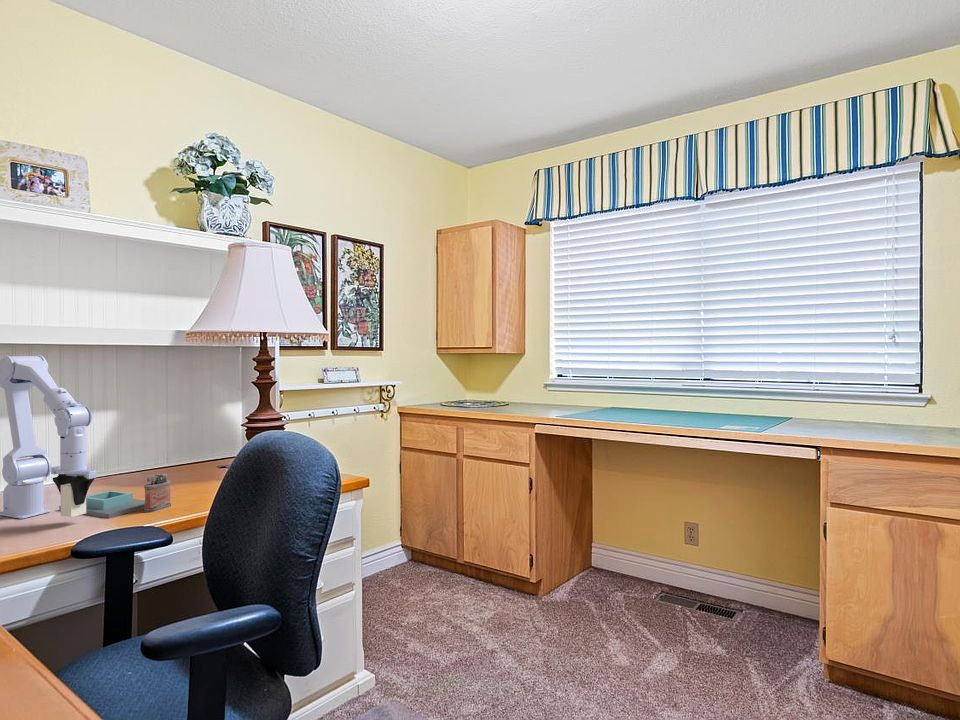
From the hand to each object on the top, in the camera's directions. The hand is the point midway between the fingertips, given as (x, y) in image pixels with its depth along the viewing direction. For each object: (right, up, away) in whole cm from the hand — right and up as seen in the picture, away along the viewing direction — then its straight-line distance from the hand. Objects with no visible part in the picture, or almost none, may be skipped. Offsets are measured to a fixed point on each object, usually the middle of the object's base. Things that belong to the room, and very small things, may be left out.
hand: (73, 503), depth 158 cm
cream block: (0, -3, 0) cm, 3 cm away
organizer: (-1, -5, +15) cm, 16 cm away
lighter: (+14, -5, +15) cm, 21 cm away
